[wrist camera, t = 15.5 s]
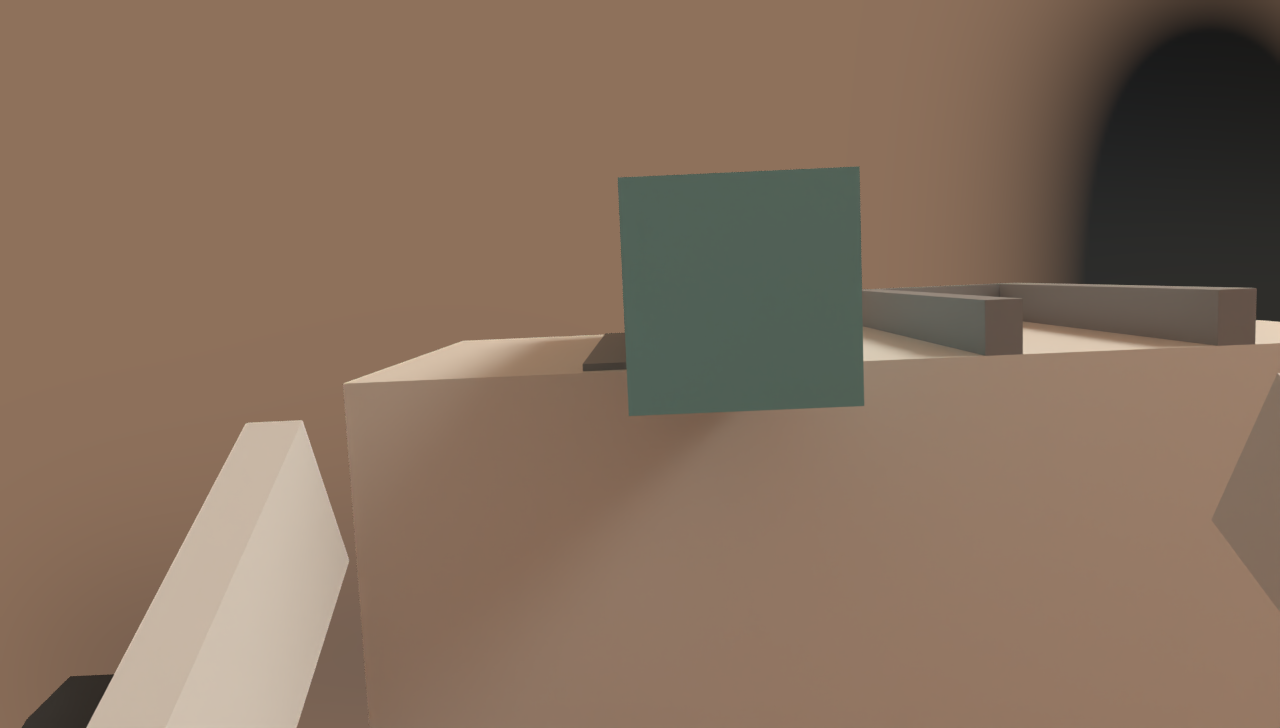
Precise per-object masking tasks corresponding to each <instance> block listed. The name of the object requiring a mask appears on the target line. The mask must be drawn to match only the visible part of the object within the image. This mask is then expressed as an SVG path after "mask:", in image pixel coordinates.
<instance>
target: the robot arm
mask: <svg viewBox="0 0 1280 728" xmlns="http://www.w3.org/2000/svg"><path fill="white" fill-rule="evenodd" d="M1212 522H1213V523H1214V524H1215V526H1216V527H1217V528H1218V530H1219V531H1220V532H1221V534H1222V535H1223V536H1224V538H1225V539H1226V540H1227V542H1228V543H1229V544H1230V546H1231V547H1232V548H1233V550H1234V551H1235V552H1236V554H1237V555H1238V557H1239V558H1240V559H1241V561H1242V562H1243V563H1244V565H1245V566H1246V567H1247V569H1248V570H1249V571H1250V573H1251V574H1252V575H1253V577H1254V578H1255V579H1256V581H1257V582H1258V583H1259V585H1260V586H1261V587H1262V589H1263V590H1264V591H1265V593H1266V594H1267V596H1268V597H1269V598H1270V600H1271V601H1272V602H1273V604H1274V605H1275V606H1276V608H1277V609H1278V610H1279V612H1280V373H1277V375H1276V377H1275V380H1274V382H1273V384H1272V386H1271V388H1270V391H1269V393H1268V395H1267V397H1266V400H1265V402H1264V404H1263V406H1262V408H1261V411H1260V413H1259V415H1258V417H1257V420H1256V422H1255V424H1254V426H1253V428H1252V431H1251V433H1250V435H1249V437H1248V440H1247V442H1246V444H1245V446H1244V448H1243V451H1242V453H1241V455H1240V457H1239V460H1238V462H1237V464H1236V466H1235V468H1234V471H1233V473H1232V475H1231V477H1230V480H1229V482H1228V484H1227V486H1226V488H1225V491H1224V493H1223V495H1222V497H1221V500H1220V502H1219V504H1218V506H1217V508H1216V511H1215V513H1214V515H1213V517H1212ZM348 563H349V558H348V555H347V553H346V549H345V546H344V543H343V540H342V537H341V534H340V531H339V528H338V526H337V522H336V520H335V516H334V514H333V510H332V508H331V505H330V501H329V498H328V496H327V492H326V489H325V486H324V483H323V480H322V477H321V475H320V472H319V469H318V465H317V462H316V460H315V457H314V454H313V451H312V448H311V445H310V441H309V439H308V436H307V433H306V430H305V427H304V424H303V421H302V420H297V421H276V422H256V423H246V424H245V426H244V428H243V430H242V432H241V433H240V435H239V437H238V439H237V441H236V443H235V445H234V447H233V449H232V451H231V453H230V454H229V456H228V458H227V461H226V462H225V464H224V466H223V468H222V470H221V472H220V474H219V476H218V477H217V479H216V481H215V483H214V485H213V487H212V489H211V491H210V493H209V495H208V496H207V498H206V500H205V502H204V504H203V506H202V508H201V510H200V512H199V514H198V516H197V518H196V519H195V521H194V523H193V525H192V527H191V529H190V531H189V533H188V535H187V537H186V538H185V540H184V542H183V544H182V546H181V548H180V550H179V552H178V554H177V556H176V558H175V559H174V561H173V563H172V565H171V567H170V569H169V571H168V573H167V575H166V577H165V579H164V581H163V582H162V584H161V586H160V588H159V590H158V592H157V594H156V596H155V598H154V600H153V601H152V603H151V605H150V608H149V609H148V611H147V613H146V615H145V617H144V619H143V621H142V622H141V624H140V626H139V628H138V630H137V632H136V634H135V636H134V638H133V640H132V642H131V644H130V645H129V647H128V649H127V651H126V653H125V655H124V657H123V659H122V661H121V663H120V665H119V666H118V668H117V670H116V672H115V674H113V675H92V676H71V677H69V678H68V679H67V680H66V681H65V682H64V683H63V684H62V685H61V686H60V687H59V688H58V689H57V690H56V691H55V692H54V693H53V694H52V695H51V696H50V697H49V698H48V699H47V700H46V701H45V702H44V703H43V704H42V705H41V706H40V707H39V708H38V709H37V710H36V711H35V712H34V713H33V714H32V715H31V716H30V717H29V718H28V719H27V720H26V722H25V723H24V725H23V727H22V728H297V724H298V721H299V718H300V715H301V712H302V709H303V705H304V702H305V699H306V696H307V693H308V690H309V686H310V683H311V680H312V677H313V674H314V670H315V667H316V664H317V661H318V658H319V655H320V652H321V648H322V645H323V642H324V639H325V636H326V632H327V629H328V626H329V623H330V620H331V617H332V613H333V610H334V607H335V604H336V601H337V598H338V594H339V591H340V588H341V585H342V582H343V579H344V576H345V572H346V569H347V566H348Z"/></svg>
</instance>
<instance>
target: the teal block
mask: <svg viewBox="0 0 1280 728" xmlns="http://www.w3.org/2000/svg"><path fill="white" fill-rule="evenodd" d="M859 173H860V172H859V167H843V168H842V167H840V168H818V169H796V170H777V171H776V170H775V171H753V172H734V173H733V172H731V173H709V174H688V175H666V176H647V177H646V176H644V177H623V178H618V192H619V215H620V235H621V236H620V237H621V257H622V279H623V300H624V301H623V302H624V323H625V345H626V367H627V388H628V410H629V416H643V415H666V414H690V413H713V412H737V411H760V410H783V409H807V408H830V407H854V406H864V367H863V318H862V271H861V270H862V269H861V221H860V174H859Z"/></svg>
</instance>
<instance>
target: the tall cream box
mask: <svg viewBox="0 0 1280 728" xmlns="http://www.w3.org/2000/svg"><path fill="white" fill-rule="evenodd" d="M862 318H863V367H864V406H854V407H830V408H807V409H783V410H760V411H737V412H713V413H690V414H666V415H643V416H629V410H628V388H627V367H626V345H625V333H611V334H605V335H589V336H588V335H586V336H563V337H540V338H518V339H495V340H473V341H461V342H459V343H456V344H453V345H450V346H447V347H444V348H442V349H439V350H436V351H433V352H430V353H428V354H425V355H422V356H419V357H416V358H414V359H411V360H408V361H405V362H402V363H399V364H397V365H394V366H391V367H388V368H386V369H383V370H380V371H377V372H374V373H372V374H369V375H366V376H363V377H360V378H357V379H355V380H352V381H349V382H346V383H343V390H344V403H345V416H346V429H347V442H348V455H349V468H350V481H351V494H352V507H353V520H354V532H355V545H356V559H357V572H358V585H359V598H360V611H361V624H362V637H363V650H364V663H365V676H366V689H367V701H368V715H369V728H1280V612H1279V610H1278V609H1277V608H1276V606H1275V605H1274V604H1273V602H1272V601H1271V600H1270V598H1269V597H1268V596H1267V594H1266V593H1265V591H1264V590H1263V589H1262V587H1261V586H1260V585H1259V583H1258V582H1257V581H1256V579H1255V578H1254V577H1253V575H1252V574H1251V573H1250V571H1249V570H1248V569H1247V567H1246V566H1245V565H1244V563H1243V562H1242V561H1241V559H1240V558H1239V557H1238V555H1237V554H1236V552H1235V551H1234V550H1233V548H1232V547H1231V546H1230V544H1229V543H1228V542H1227V540H1226V539H1225V538H1224V536H1223V535H1222V534H1221V532H1220V531H1219V530H1218V528H1217V527H1216V526H1215V524H1214V523H1213V522H1212V517H1213V515H1214V513H1215V511H1216V508H1217V506H1218V504H1219V502H1220V500H1221V497H1222V495H1223V493H1224V491H1225V488H1226V486H1227V484H1228V482H1229V480H1230V477H1231V475H1232V473H1233V471H1234V468H1235V466H1236V464H1237V462H1238V460H1239V457H1240V455H1241V453H1242V451H1243V448H1244V446H1245V444H1246V442H1247V440H1248V437H1249V435H1250V433H1251V431H1252V428H1253V426H1254V424H1255V422H1256V420H1257V417H1258V415H1259V413H1260V411H1261V408H1262V406H1263V404H1264V402H1265V400H1266V397H1267V395H1268V393H1269V391H1270V388H1271V386H1272V384H1273V382H1274V380H1275V377H1276V375H1277V373H1280V322H1273V321H1260V320H1256V288H1225V287H1182V286H1137V285H1091V284H1046V283H1001V284H979V285H955V286H932V287H911V288H888V289H865V290H862Z"/></svg>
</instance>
